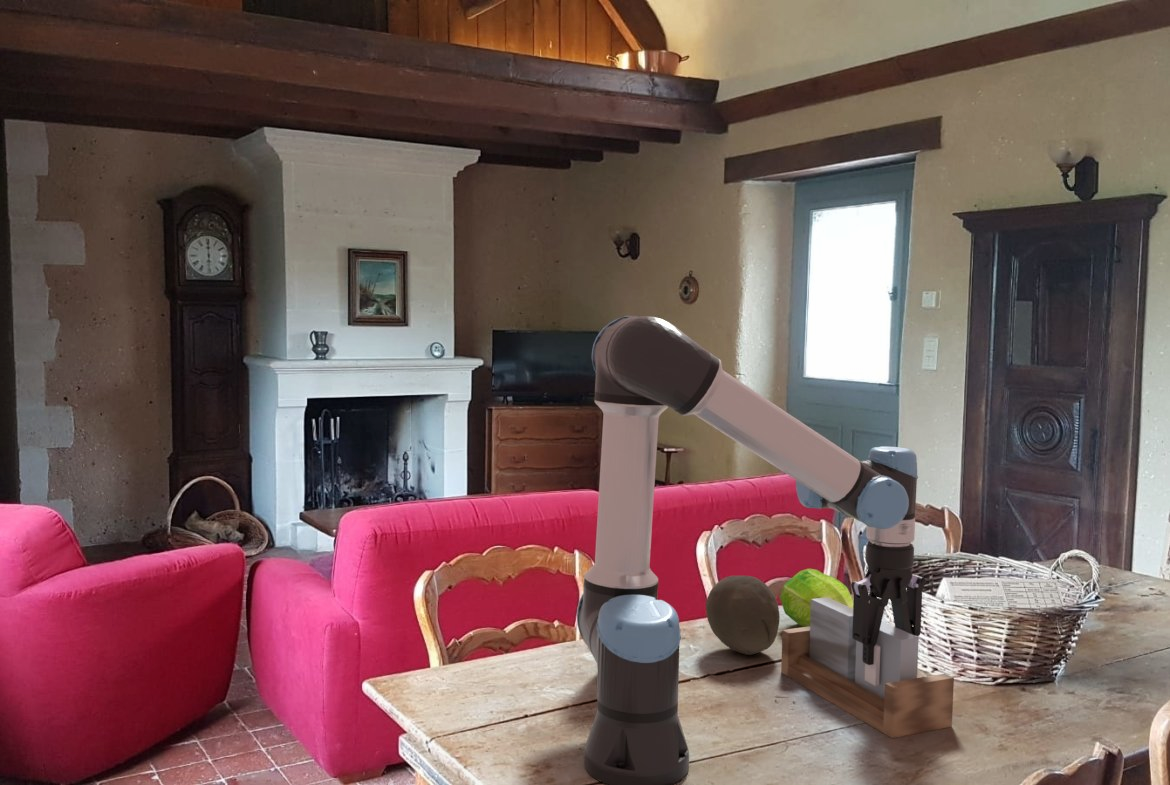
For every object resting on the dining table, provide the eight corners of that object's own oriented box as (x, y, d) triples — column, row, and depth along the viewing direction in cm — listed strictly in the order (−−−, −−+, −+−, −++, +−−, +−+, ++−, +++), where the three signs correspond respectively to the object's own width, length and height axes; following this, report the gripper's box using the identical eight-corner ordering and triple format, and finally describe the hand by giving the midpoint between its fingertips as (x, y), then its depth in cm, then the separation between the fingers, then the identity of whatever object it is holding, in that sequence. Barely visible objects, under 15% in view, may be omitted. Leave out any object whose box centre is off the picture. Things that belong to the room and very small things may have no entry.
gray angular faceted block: (898, 713, 155) (901, 639, 155) (854, 688, 166) (857, 619, 165) (915, 710, 157) (918, 637, 156) (871, 686, 167) (873, 617, 166)
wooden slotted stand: (891, 738, 151) (894, 649, 150) (781, 672, 178) (783, 597, 177) (951, 726, 155) (955, 640, 154) (835, 664, 183) (837, 591, 182)
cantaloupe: (775, 642, 195) (777, 568, 194) (781, 667, 181) (784, 588, 180) (704, 639, 197) (706, 566, 196) (705, 663, 183) (707, 585, 182)
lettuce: (818, 652, 190) (820, 592, 189) (769, 621, 209) (771, 566, 208) (880, 646, 194) (882, 587, 193) (826, 616, 213) (828, 562, 212)
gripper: (860, 551, 152) (855, 696, 154) (949, 542, 159) (943, 681, 161) (831, 540, 159) (826, 679, 161) (917, 533, 166) (911, 666, 168)
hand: (885, 680), depth 161 cm, fingers open, 5 cm apart
